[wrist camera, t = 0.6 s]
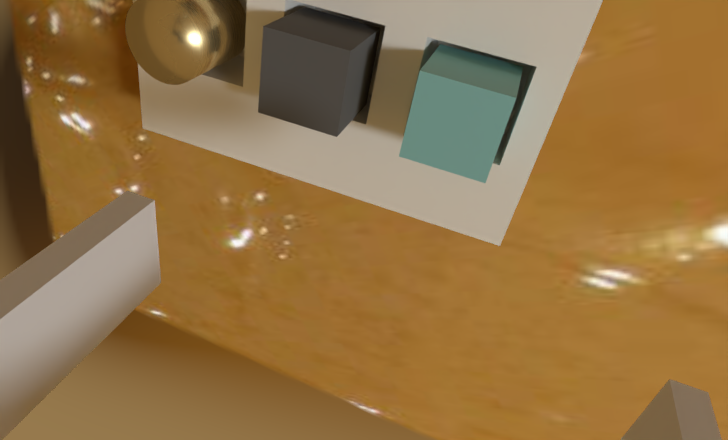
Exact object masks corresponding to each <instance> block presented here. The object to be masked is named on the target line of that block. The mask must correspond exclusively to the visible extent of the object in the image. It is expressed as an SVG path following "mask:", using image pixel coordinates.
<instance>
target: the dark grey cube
mask: <svg viewBox="0 0 728 440" xmlns="http://www.w3.org/2000/svg"><path fill="white" fill-rule="evenodd" d="M380 30H381V28H380V27H376V26H373V25H369V24H365V23H362V22H358V21H354V20H351V19H347V18H343V17H340V16H336V15H332V14H329V13H325V12H321V11H318V10H314V9H310V8H307V7H304V8H302V9H300V10H297V11H295V12H293V13H291V14H289V15H287V16H284V17H282V18H280V19H278V20H276V21H274V22H271V23H269V24H267V25H265V26H263V39H262V55H261V71H260V87H259V103H258V113H261V114H265V115H268V116H271V117H274V118H277V119H281V120H284V121H287V122H290V123H293V124H297V125H300V126H303V127H306V128H309V129H313V130H316V131H319V132H322V133H325V134H329V135H332V136H335V137H337V136H338V135H339V134H340V133H341V132H342V131H343V130H344V129H345V128H346V126H347V125H348V124H349V123H350V122H351V121H352V120H353V119H354V118H355V116H356V115H357V114H358V113H359V112H360V111H361V110H362V109H363V108H364V107H365V105H366V104H367V99H368V93H369V88H370V83H371V78H372V72H373V67H374V62H375V57H376V51H377V46H378V41H379V35H380Z"/></svg>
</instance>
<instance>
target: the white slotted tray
mask: <svg viewBox="0 0 728 440" xmlns="http://www.w3.org/2000/svg"><path fill="white" fill-rule="evenodd" d="M135 1H137V0H133V3H134V2H135ZM239 1H240V3H241V5H242V6H243V8H244V11H245V13H246V30H245V47H244V49H243V50H242V52H241V53H240V54H239V55H238V56H236V57H234V58H232V59H231V60H229V61H227V62H225V63H223V64H221V65H219V66H217V67H215V68H213V69H211V70H209V71H207V72H205V73H203V74H201V75H199V76H197V77H196V78H194V79H192V80H190V81H188V82H186V83H183V84H179V85H170V84H165V83H163V82H160V81H158V80H156V79H154V78H153V77H151V76H150V75H149V74H148V73H146V72H145V71H144V70H143V69H142V67H141V66H140V65H139V64H138V74H139V87H140V100H141V113H142V126H143V128H144V129H147V130H150V131H153V132H156V133H159V134H162V135H165V136H168V137H171V138H174V139H177V140H180V141H183V142H186V143H189V144H192V145H195V146H198V147H201V148H204V149H207V150H210V151H213V152H216V153H219V154H222V155H225V156H228V157H232V158H235V159H238V160H241V161H244V162H247V163H250V164H253V165H256V166H259V167H262V168H265V169H268V170H271V171H274V172H277V173H280V174H283V175H286V176H289V177H292V178H295V179H298V180H301V181H304V182H307V183H310V184H313V185H316V186H319V187H322V188H326V189H329V190H332V191H335V192H338V193H341V194H344V195H347V196H350V197H353V198H356V199H359V200H362V201H365V202H368V203H371V204H374V205H377V206H380V207H383V208H386V209H389V210H392V211H395V212H398V213H401V214H404V215H407V216H410V217H413V218H416V219H420V220H423V221H426V222H429V223H432V224H435V225H438V226H441V227H444V228H447V229H450V230H453V231H456V232H459V233H462V234H465V235H468V236H471V237H474V238H477V239H480V240H483V241H486V242H489V243H492V244H495V245H498V246H500V245H501V242H502V240H503V238H504V235H505V233H506V230H507V228H508V226H509V223H510V221H511V218H512V216H513V214H514V211H515V209H516V207H517V204H518V202H519V199H520V197H521V195H522V192H523V190H524V187H525V185H526V183H527V180H528V178H529V176H530V173H531V171H532V168H533V166H534V164H535V161H536V159H537V156H538V154H539V152H540V149H541V147H542V144H543V142H544V140H545V137H546V135H547V133H548V130H549V128H550V125H551V123H552V121H553V118H554V116H555V113H556V111H557V109H558V106H559V104H560V102H561V99H562V97H563V94H564V92H565V90H566V87H567V85H568V82H569V80H570V78H571V75H572V73H573V71H574V68H575V66H576V63H577V61H578V59H579V56H580V54H581V51H582V49H583V47H584V44H585V42H586V40H587V37H588V35H589V32H590V30H591V28H592V25H593V23H594V20H595V18H596V16H597V13H598V11H599V9H600V6H601V4H602V1H603V0H239ZM304 7H307V8H310V9H314V10H318V11H321V12H325V13H329V14H332V15H336V16H340V17H343V18H347V19H351V20H354V21H358V22H362V23H365V24H369V25H373V26H376V27H380V28H381V30H380V35H379V41H378V46H377V51H376V57H375V62H374V67H373V72H372V78H371V83H370V88H369V93H368V99H367V104H366V105H365V107H364V108H363V109H362V110H361V111H360V112H359V113H358V114H357V115H356V116H355V118H354V119H353V120H352V121H351V122H350V123H349V124H348V125H347V126H346V128H345V129H344V130H343V131H342V132H341V133H340V134H339V135H338V136H337V137H335V136H332V135H329V134H325V133H322V132H319V131H316V130H313V129H309V128H306V127H303V126H300V125H297V124H293V123H290V122H287V121H284V120H281V119H277V118H274V117H271V116H268V115H265V114H261V113H258V103H259V87H260V71H261V55H262V39H263V26H265V25H267V24H269V23H271V22H274V21H276V20H278V19H280V18H282V17H284V16H287V15H289V14H291V13H293V12H295V11H297V10H300V9H302V8H304ZM440 44H442V45H446V46H449V47H453V48H457V49H460V50H464V51H468V52H471V53H475V54H479V55H482V56H486V57H490V58H493V59H497V60H501V61H504V62H508V63H512V64H515V65H519V66H523V70H522V75H521V80H520V84H519V89H518V94H517V98H516V101H515V104H514V106H513V109H512V112H511V115H510V117H509V120H508V123H507V126H506V128H505V131H504V134H503V136H502V139H501V142H500V145H499V147H498V150H497V153H496V156H495V158H494V161H493V164H492V167H491V169H490V172H489V175H488V177H487V180H486V183H482V182H479V181H476V180H473V179H470V178H466V177H463V176H460V175H457V174H454V173H450V172H447V171H444V170H441V169H438V168H434V167H431V166H428V165H425V164H422V163H418V162H415V161H412V160H409V159H406V158H402V157H399V154H400V149H401V145H402V141H403V137H404V133H405V129H406V125H407V121H408V117H409V113H410V108H411V104H412V100H413V96H414V92H415V88H416V84H417V80H418V76H419V72H420V70H421V68H422V67H423V66H424V64H425V63H426V62H427V61H428V59H429V58H430V57H431V55H432V54H433V53H434V52H435V50H436V49H437V48H438V47H439V45H440Z"/></svg>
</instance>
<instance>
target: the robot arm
mask: <svg viewBox="0 0 728 440" xmlns="http://www.w3.org/2000/svg"><path fill="white" fill-rule="evenodd" d="M160 283H161V275H160V263H159V250H158V238H157V225H156V213H155V200H152V199H149V198H147V197H144V196H141V195H138V194H135V193H132V192H129V191H126V192H125V193H124V194H122V195H121V196H119V197H118V198H116V199H115V200H114V201H112V202H111V203H109V204H108V205H106V206H105V207H104V208H102V209H101V210H99V211H98V212H96V213H95V214H94V215H92V216H91V217H89V218H88V219H87V220H85V221H84V222H82V223H81V224H79V225H78V226H77V227H75V228H74V229H72V230H71V231H69V232H68V233H67V234H65V235H64V236H62V237H61V238H59V239H58V240H57V241H55V242H54V243H52V244H51V245H49V246H48V247H47V248H45V249H44V250H42V251H41V252H40V253H38V254H37V255H35V256H34V257H32V258H31V259H30V260H28V261H27V262H25V263H24V264H22V265H21V266H19V267H18V268H17V269H15V270H14V271H13V272H11V273H10V274H8V275H7V276H5V277H4V278H2V279H1V280H0V440H2V439H3V438H4V437H5V436H7V435H8V434H9V433H10V431H11V430H13V429H14V428H15V427H16V426H17V425H18V424H19V422H21V421H22V420H23V419H24V418H25V417H26V416H27V415H28V414H29V413H30V412H31V411H32V410H33V409H34V408H35V407H36V406H37V405H38V404H39V403H40V402H41V401H42V400H43V399H44V398H45V397H46V396H47V395H48V394H49V393H50V392H51V391H52V390H53V389H54V388H55V387H56V386H57V385H58V384H59V383H60V382H61V381H62V380H63V379H64V378H65V377H66V376H67V375H68V374H69V373H70V372H71V371H72V370H73V369H74V368H75V367H76V366H77V365H78V364H79V363H80V362H81V361H82V360H83V359H84V358H85V357H86V356H87V355H88V354H89V353H90V352H91V351H92V350H93V349H94V348H96V347H97V345H99V343H100V342H102V341H103V340H104V339H105V338H106V336H108V335H109V334H110V333H111V332H112V331H113V330H114V329H115V328H116V327H117V325H119V324H120V323H121V322H122V321H123V320H124V319H125V318H126V317H127V316H128V315H129V314H130V313H131V312H132V311H133V310H134V309H135V308H136V307H137V306H138V305H139V304H140V303H141V302H142V301H143V300H144V299H145V298H146V297H147V296H148V295H149V294H150V293H151V292H152V291H153V290H154V289H155V288H156V287H157V286H158V285H159V284H160ZM621 440H722V439H721V436H720V432H719V429H718V425H717V422H716V418H715V415H714V411H713V408H712V404H711V401H710V397H709V394H708V392H705V391H702V390H699V389H696V388H694V387H691V386H688V385H685V384H682V383H679V382H676V381H673V380H671V379H669V380H668V382H667V383H666V384H665V385H664V387H663V388H662V389H661V390H660V392H659V393H658V394H657V395H656V397H655V398H654V399H653V400H652V401H651V403H650V404H649V405H648V406H647V408H646V409H645V410H644V411H643V413H642V414H641V415H640V416H639V418H638V419H637V420H636V421H635V422H634V424H633V425H632V426H631V427H630V429H629V430H628V431H627V432H626V434H625V435H624V436H623V437H622V439H621Z"/></svg>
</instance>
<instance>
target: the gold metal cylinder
mask: <svg viewBox="0 0 728 440" xmlns="http://www.w3.org/2000/svg"><path fill="white" fill-rule="evenodd" d="M245 30H246V13H245V11H244V8H243V6H242V5H241V3H240V1H239V0H137V1H135V2H134V3H133V4H132V6H131V7H130V9H129V11H128V13H127V16H126V22H125V32H126V38H127V42H128V45H129V48H130V50H131V52H132V54H133V56H134V58H135V60H136V61H137V62H138V64H139V65H140V66H141V67H142V69H143V70H144V71H145V72H146V73H148V74H149V75H150V76H151V77H153V78H154V79H156V80H158V81H160V82H163V83H165V84H170V85H179V84H183V83H186V82H188V81H190V80H192V79H194V78H196V77H197V76H199V75H201V74H203V73H205V72H207V71H209V70H211V69H213V68H215V67H217V66H219V65H221V64H223V63H225V62H227V61H229V60H231V59H232V58H234V57H236V56H238V55H239V54H240V53H241V52H242V50H243V49H244V47H245Z"/></svg>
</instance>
